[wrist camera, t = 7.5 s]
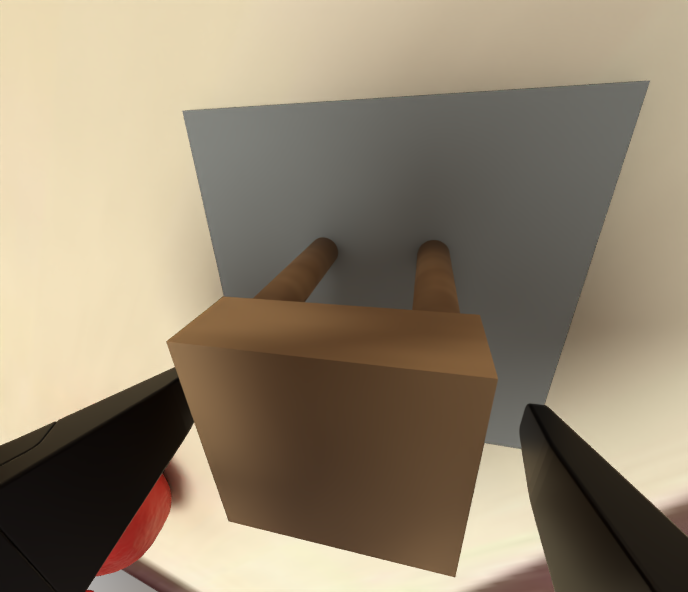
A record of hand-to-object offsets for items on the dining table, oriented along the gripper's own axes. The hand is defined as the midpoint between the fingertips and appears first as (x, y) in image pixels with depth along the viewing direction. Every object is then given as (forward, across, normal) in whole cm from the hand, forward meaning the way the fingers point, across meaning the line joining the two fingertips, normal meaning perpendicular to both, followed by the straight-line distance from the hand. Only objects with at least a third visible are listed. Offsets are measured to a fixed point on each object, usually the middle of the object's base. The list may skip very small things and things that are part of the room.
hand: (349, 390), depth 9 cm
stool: (+6, 0, 0) cm, 6 cm away
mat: (+6, 0, 0) cm, 6 cm away
